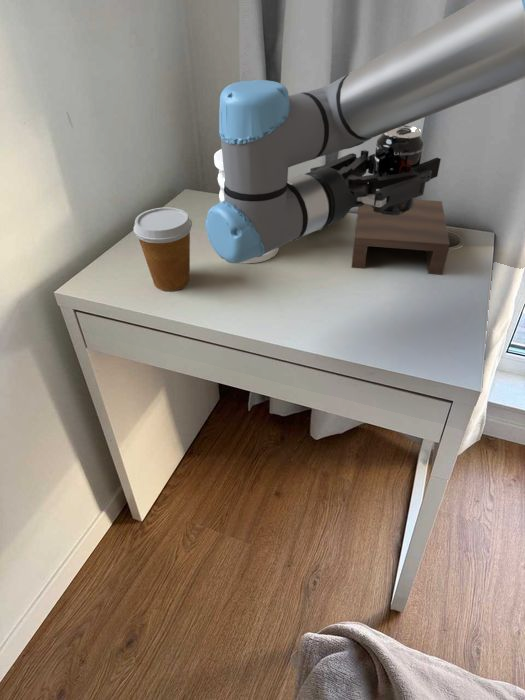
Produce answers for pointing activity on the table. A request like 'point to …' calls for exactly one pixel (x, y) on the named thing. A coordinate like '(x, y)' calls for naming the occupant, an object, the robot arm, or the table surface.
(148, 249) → the disposable coffee cup
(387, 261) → the table surface
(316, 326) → the table surface
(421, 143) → the beverage can
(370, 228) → the shelf
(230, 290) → the table surface
